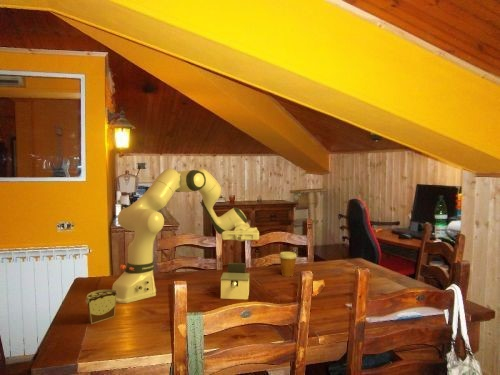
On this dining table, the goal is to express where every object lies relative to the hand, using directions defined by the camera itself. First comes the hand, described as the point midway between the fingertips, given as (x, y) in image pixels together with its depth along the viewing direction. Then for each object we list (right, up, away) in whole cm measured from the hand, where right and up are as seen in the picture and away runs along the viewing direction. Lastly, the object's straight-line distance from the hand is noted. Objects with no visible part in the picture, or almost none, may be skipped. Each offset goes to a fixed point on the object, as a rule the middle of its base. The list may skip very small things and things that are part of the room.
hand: (239, 238), depth 201 cm
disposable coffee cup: (+26, -22, +11) cm, 35 cm away
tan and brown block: (-52, -24, -53) cm, 78 cm away
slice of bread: (+36, -23, -13) cm, 45 cm away
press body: (-1, -23, -24) cm, 33 cm away
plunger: (-1, -21, -25) cm, 32 cm away
